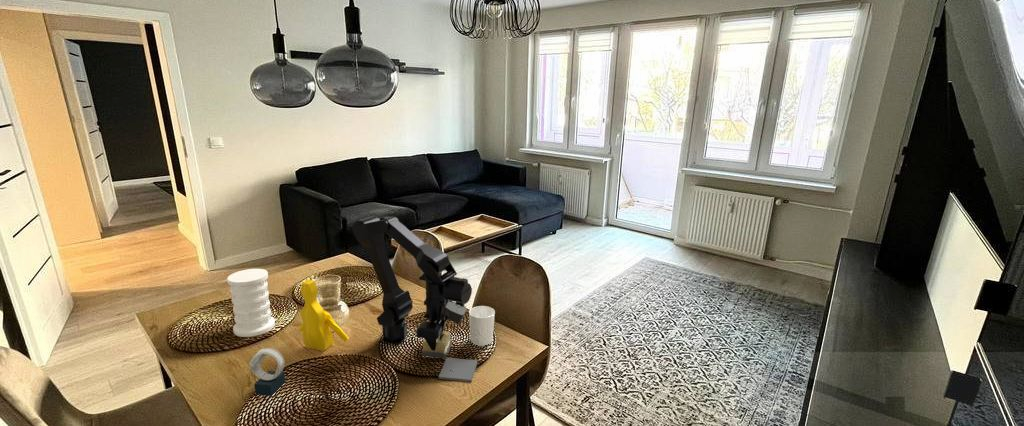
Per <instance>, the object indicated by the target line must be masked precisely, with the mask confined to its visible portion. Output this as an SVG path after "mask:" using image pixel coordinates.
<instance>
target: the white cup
mask: <svg viewBox="0 0 1024 426" xmlns="http://www.w3.org/2000/svg"><path fill="white" fill-rule="evenodd" d="M495 315H496V311H495V309H494V308H492V307H491V306H486V305H478V306H474V307H472V308H470V309H469V311H468V319H469V334H470V342H472V343H473V344H472V343H471V344H472V345H474V344H475V345H474V346H476V345H478V346H477V347H486V346H485V345H487V346H489V345H491V344H490V343H492V342H493V338H494V337H493V335H494V326H495ZM488 344H489V345H488Z"/></svg>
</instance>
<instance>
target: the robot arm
mask: <svg viewBox="0 0 1024 426" xmlns="http://www.w3.org/2000/svg"><path fill="white" fill-rule="evenodd" d="M351 228H352V233H353V235H354V237H355V239H356V241H357V243H358V244H359V245H361V246H362V247H363V248H364V249H366V251H367V253H368V256H369V259H370V261H371V264H372V267H373V270H374V272H375V275H376V279H377V281H378V282H379V285H380V288H381V292H382V303H381V306H382V310H383V312H382V313H380V315H378V316H377V317H376V320H377V323H378V325H379V326H382V338H381V339H380V343H386V344H395V345H401V344H402V343H403V341H404V340H405V339H406V338H407V336H408V333H409V332H408V324H407V323H406V318H407V317H409V314H410V313H411V312H412V310H413V307H414V306H413V303H414V301H413V299H412V297H411V295H410V294H411V293H410V292H409V290H404V289H402V288H401V287H400V285H399V282H398V279H397V277H396V275H395V272H394V269H393V266H392V263H391V261H390V259H389V255H388V253H387V251H386V247H385V245H384V239H385V234H386V235H387V236H389V237H390V238H391V239H392V240H394V241H395V242H396V243H397V244H399V246H401V248H403V249H404V250H405V251H406V252H407V253H408V254H410V255H411V256H412V257H413V258H414V260H415V263H416V265H417V267H418V268H419V270H421V271H422V275H421V276H419V277H418V279H419V280H421V281H424V282H425V299H424V300H423V301H424V302H423V305H424V306H426V307H425V309H426V311H425V313H424V315H423V318H424V319H428V321H422V322H421V323H420V324H419V325H418V327H417V328H416V329H415V330H416V334H415V335H416V336H415V337H417V338H418V339H419V338H420V339H423V340H424V339H425V340H426V342H427V343H428V345H429V347H430V348H431V350H433V351H435V350H436V344H437V339H438V338H439V336H440V335H441V333H442V331H445V325H446V321H448V320H449V321H450V322H453V323H455V324H457V325H458V324H461V323H462V320H463V319H464V316H465V314H466V311H467V306H465V304H467V303H468V302H469V301H470V299H471V297H472V293H473V288H472V286H471V284H470V283H469V281H468V280H469V279H467V278H464V277H463V278H462V277H461V278H460V277H458V276H457V271H456V269H455V268H454V266H453V265H452V262H451V261H450V260H449V259H450V257H449V256H448V255H447V254H446V253H445V252H444V251H442V250H441V249H439V248H437V247H435V246H431V245H428V244H426V243H425V242H424V241H422V240H421V239H420V238H419V236H417V235H415V234H414V233H413V232H412V231H411V230H409V228H407V226H406V225H404V224H403V223H402V222H401V221H400V220H399V219H398V218H397V217H396V216H392V215H391V216H384V217H377V216H375V215H371V216H367V217H364V218H363V219H362V218H361V219H359V220H356V221H354V222H353V226H352V227H351ZM444 271H446V272H444ZM443 272H444V273H443ZM441 273H443V274H441ZM456 276H457V277H456Z"/></svg>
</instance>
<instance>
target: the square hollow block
mask: <svg viewBox="0 0 1024 426" xmlns="http://www.w3.org/2000/svg"><path fill="white" fill-rule="evenodd" d="M450 340H451V331H445V330H444V331H442V333H441V335H440V340H437V344H436V350H435V351H434V352H445V351H446V348H447V346H448V344H449V342H450ZM422 350H423V351H433V350H431V348H430V347H429V345H428V343H427V342H426V340H425V339H424V338H423V340H422Z"/></svg>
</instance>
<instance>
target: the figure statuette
mask: <svg viewBox="0 0 1024 426" xmlns="http://www.w3.org/2000/svg"><path fill="white" fill-rule="evenodd" d="M300 292H301V296H302V298H303V300H304V306H303V307H302V308H301V311H300V316H301V319H302V323H301V324H300V325H299V327H298V331H299V333H302V339H303V343H304V345H305V347H306V348H307V349H311V350H316V351H321V352H324V351H325V350H327V349H328V348H329V347H331V346H333V345H334V337H333V333H332V331H333V332H334V333H335V334H336V335H337V336H338V337H339V338H340V339H341V340H342V341H343V342H344V343H345V342H346V341H347V340H349V339H350V337H349V336H348V335H347V334H346V333H345V332H344V330H343V329H342V328H341V327H340V326H339V325H337V323H336V322H335V320H334V319H333V316H332V315H331V314H330V312H329V311H327V310H325V309H324V308H323V307H322V306H321V305H320V303H319V301H318V300H317V298H318V293H319V290H318V286H317V283H316V281H315V279H313V280H312V279H308V278H307V280H305V281H304V282H302V283H301V288H300ZM331 329H332V330H331Z"/></svg>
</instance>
